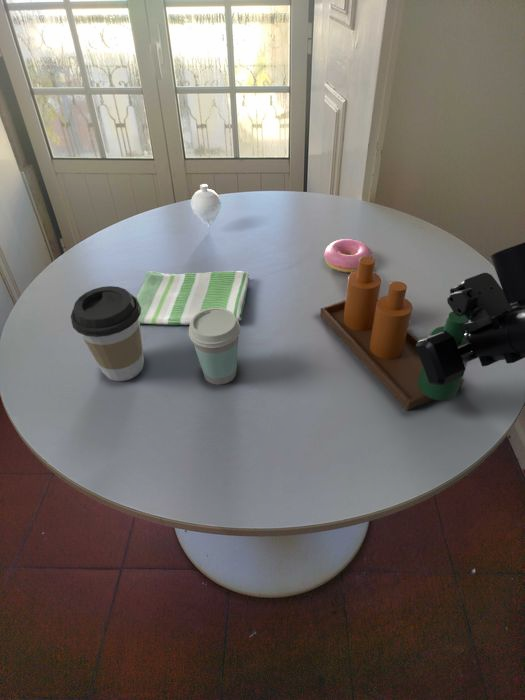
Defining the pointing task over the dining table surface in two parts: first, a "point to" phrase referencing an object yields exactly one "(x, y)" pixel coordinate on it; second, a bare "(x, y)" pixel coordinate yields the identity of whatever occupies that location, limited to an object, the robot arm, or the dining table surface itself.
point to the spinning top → (206, 204)
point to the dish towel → (190, 295)
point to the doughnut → (346, 254)
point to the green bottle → (458, 332)
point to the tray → (390, 372)
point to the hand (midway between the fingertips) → (441, 348)
